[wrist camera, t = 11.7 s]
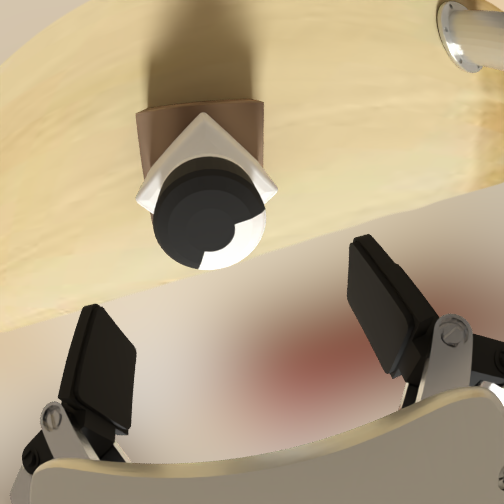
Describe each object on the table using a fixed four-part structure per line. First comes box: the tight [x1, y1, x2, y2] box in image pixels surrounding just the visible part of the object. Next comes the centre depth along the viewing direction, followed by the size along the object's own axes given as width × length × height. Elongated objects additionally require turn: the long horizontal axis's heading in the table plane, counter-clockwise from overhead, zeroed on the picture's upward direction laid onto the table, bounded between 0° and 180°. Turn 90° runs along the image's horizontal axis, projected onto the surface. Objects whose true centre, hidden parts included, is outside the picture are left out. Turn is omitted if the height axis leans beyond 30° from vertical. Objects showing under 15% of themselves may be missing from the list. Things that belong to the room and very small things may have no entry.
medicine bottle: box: [136, 112, 278, 270], centre depth 18 cm, size 7×7×12 cm
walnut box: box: [136, 99, 264, 224], centre depth 26 cm, size 11×11×6 cm
